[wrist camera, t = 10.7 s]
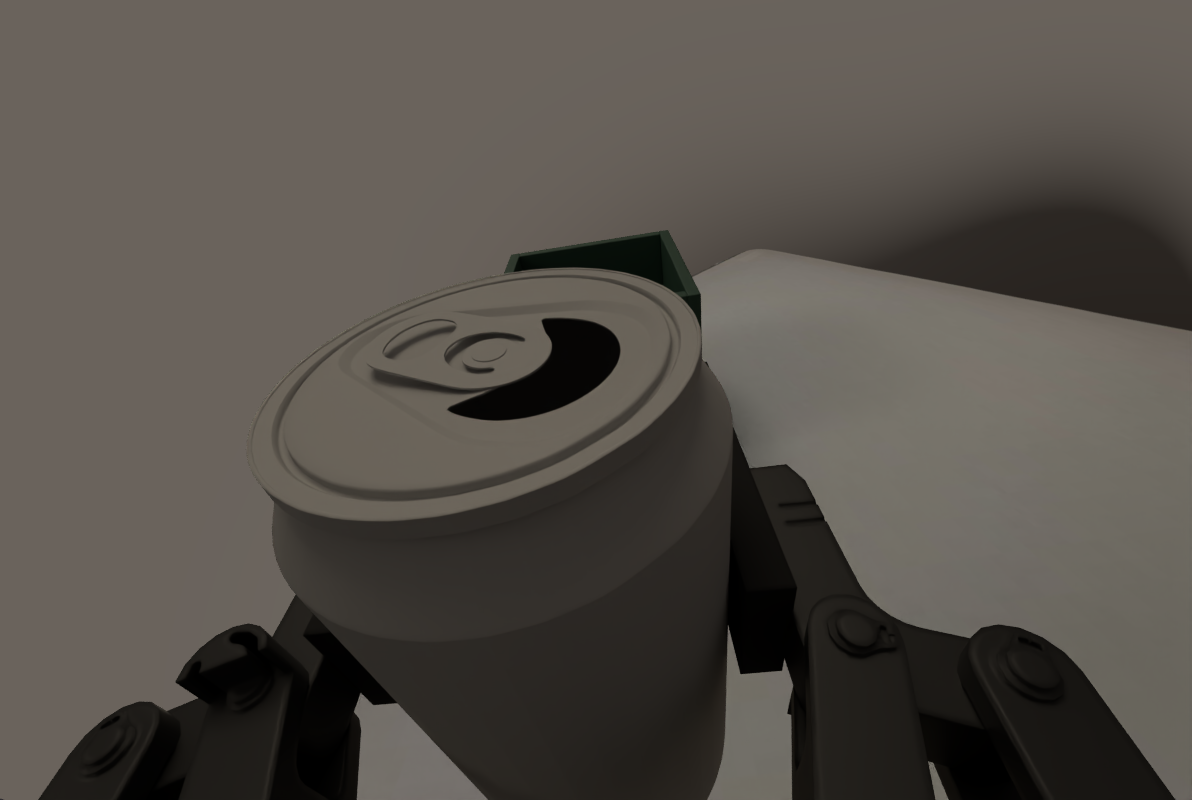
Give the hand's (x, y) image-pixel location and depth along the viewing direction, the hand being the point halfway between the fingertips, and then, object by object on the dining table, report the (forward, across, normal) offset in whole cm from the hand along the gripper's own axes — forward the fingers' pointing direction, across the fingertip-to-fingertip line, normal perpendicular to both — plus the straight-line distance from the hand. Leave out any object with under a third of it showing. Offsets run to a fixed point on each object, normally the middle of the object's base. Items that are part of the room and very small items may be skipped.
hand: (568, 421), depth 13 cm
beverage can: (-5, 0, -7) cm, 8 cm away
